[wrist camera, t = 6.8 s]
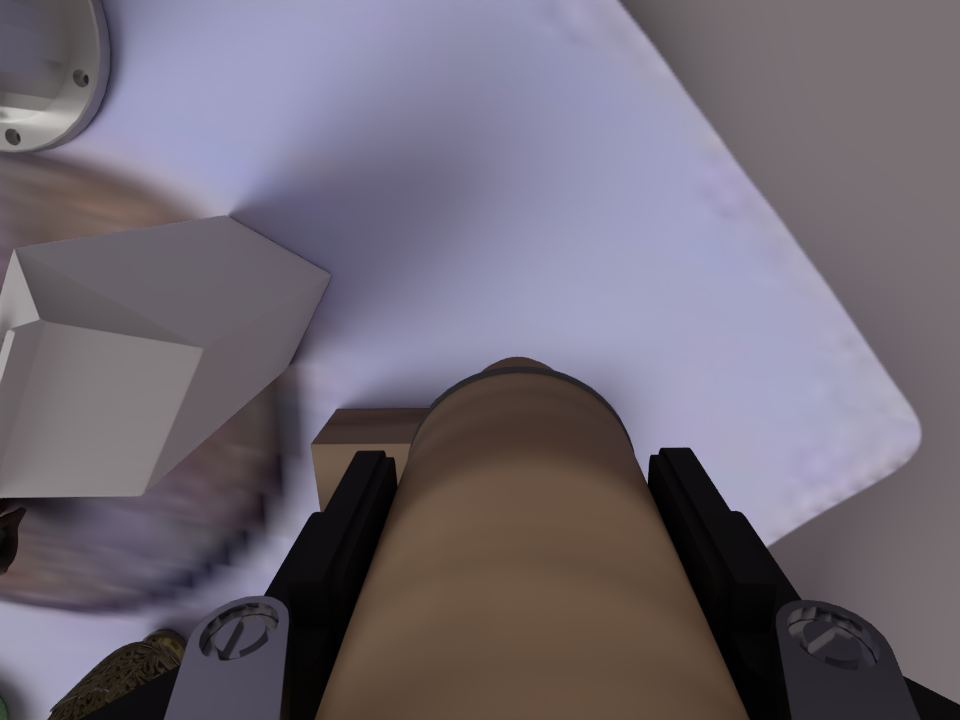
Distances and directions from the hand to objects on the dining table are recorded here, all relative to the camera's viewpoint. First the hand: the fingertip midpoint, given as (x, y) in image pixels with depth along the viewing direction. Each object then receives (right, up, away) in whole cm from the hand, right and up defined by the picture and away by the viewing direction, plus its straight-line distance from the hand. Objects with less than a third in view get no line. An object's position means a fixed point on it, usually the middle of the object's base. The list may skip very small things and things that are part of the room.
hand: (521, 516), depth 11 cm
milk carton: (-15, +7, +23) cm, 28 cm away
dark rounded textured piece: (-26, -19, +33) cm, 46 cm away
